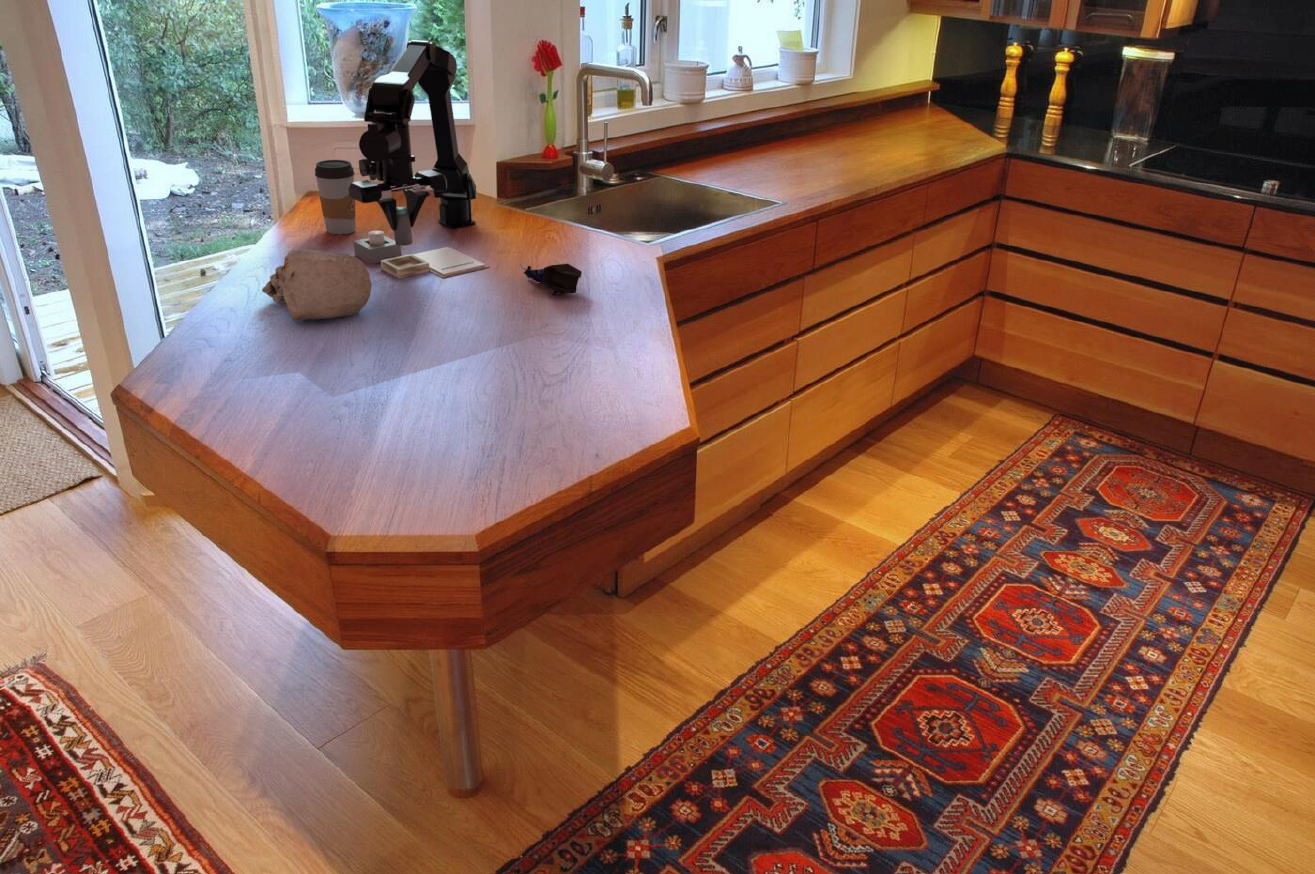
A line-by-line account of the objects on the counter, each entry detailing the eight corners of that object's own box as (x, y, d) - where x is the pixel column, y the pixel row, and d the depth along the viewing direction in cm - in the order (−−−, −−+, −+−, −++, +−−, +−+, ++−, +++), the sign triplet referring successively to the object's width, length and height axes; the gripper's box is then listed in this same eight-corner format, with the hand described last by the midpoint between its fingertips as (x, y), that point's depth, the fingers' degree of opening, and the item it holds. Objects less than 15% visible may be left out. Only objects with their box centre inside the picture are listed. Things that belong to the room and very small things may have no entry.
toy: (554, 266, 206) (593, 267, 195) (549, 297, 207) (588, 300, 195) (515, 258, 201) (553, 259, 189) (510, 289, 201) (548, 292, 190)
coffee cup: (349, 238, 222) (342, 170, 214) (314, 234, 223) (306, 166, 216) (366, 227, 229) (360, 161, 221) (332, 223, 230) (325, 157, 223)
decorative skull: (256, 241, 185) (272, 253, 168) (353, 241, 193) (378, 253, 176) (260, 309, 188) (276, 327, 171) (356, 306, 196) (380, 323, 180)
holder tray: (411, 262, 209) (410, 254, 209) (429, 271, 205) (429, 263, 204) (381, 269, 205) (380, 260, 204) (399, 278, 201) (398, 269, 200)
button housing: (384, 248, 216) (383, 235, 215) (401, 257, 212) (400, 243, 210) (354, 254, 212) (353, 241, 211) (371, 263, 208) (370, 249, 206)
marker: (408, 238, 205) (403, 205, 201) (415, 243, 202) (411, 209, 199) (392, 242, 203) (387, 208, 199) (400, 246, 201) (395, 212, 197)
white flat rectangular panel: (449, 248, 218) (448, 245, 218) (489, 267, 209) (489, 264, 208) (403, 258, 211) (403, 255, 211) (442, 278, 202) (442, 275, 201)
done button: (380, 243, 213) (379, 229, 212) (388, 247, 211) (386, 233, 210) (366, 246, 211) (365, 232, 210) (374, 250, 209) (372, 236, 208)
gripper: (416, 136, 204) (421, 211, 212) (330, 147, 193) (339, 227, 200) (446, 146, 197) (450, 224, 205) (359, 159, 186) (367, 241, 193)
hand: (402, 228), depth 201 cm, fingers closed on marker, 3 cm apart
